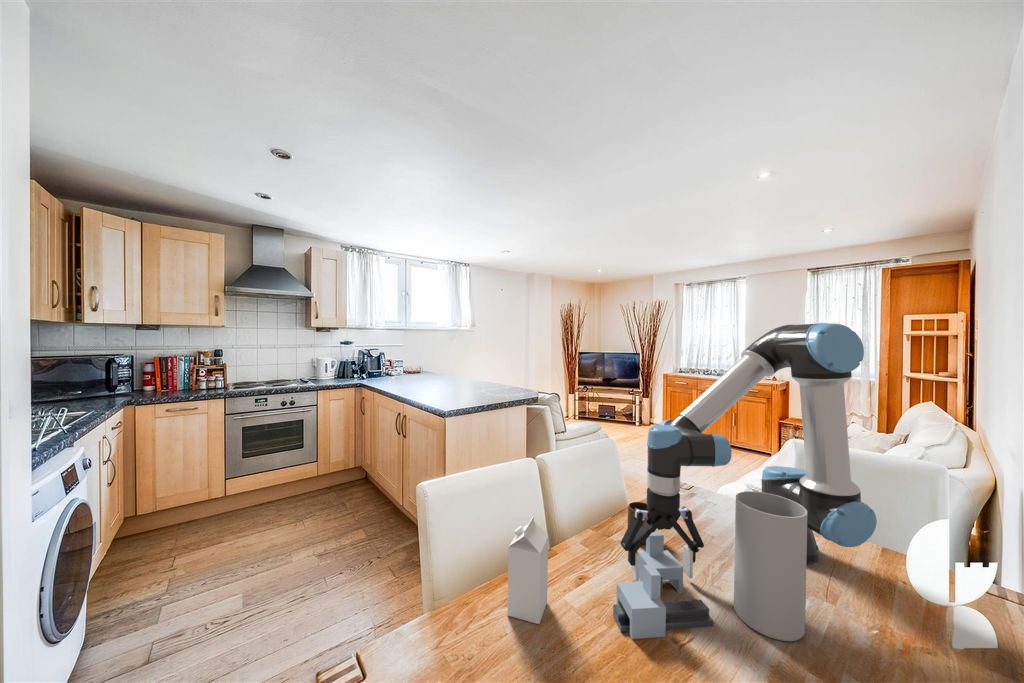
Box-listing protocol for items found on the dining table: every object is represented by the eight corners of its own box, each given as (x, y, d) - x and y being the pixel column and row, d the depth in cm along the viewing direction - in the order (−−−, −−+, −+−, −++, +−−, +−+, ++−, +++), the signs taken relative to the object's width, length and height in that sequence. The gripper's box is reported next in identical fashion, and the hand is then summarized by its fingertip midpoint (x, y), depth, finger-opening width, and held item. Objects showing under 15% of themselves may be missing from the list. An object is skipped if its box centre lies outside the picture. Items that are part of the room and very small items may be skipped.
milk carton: (547, 602, 82) (548, 518, 82) (539, 625, 76) (540, 534, 76) (517, 594, 85) (518, 513, 85) (507, 616, 78) (508, 527, 78)
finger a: (648, 607, 81) (649, 558, 81) (667, 636, 73) (668, 582, 73) (616, 609, 81) (617, 559, 81) (631, 639, 73) (632, 583, 73)
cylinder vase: (811, 653, 70) (813, 523, 70) (734, 627, 76) (737, 507, 76) (798, 611, 81) (800, 499, 81) (732, 592, 87) (734, 487, 87)
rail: (700, 611, 80) (701, 599, 80) (713, 626, 76) (713, 613, 76) (613, 616, 78) (613, 604, 78) (620, 632, 74) (621, 619, 74)
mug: (665, 554, 102) (666, 520, 102) (638, 554, 102) (639, 520, 102) (647, 531, 114) (648, 501, 114) (623, 531, 114) (624, 501, 114)
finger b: (682, 592, 86) (683, 546, 86) (650, 594, 86) (651, 547, 86) (666, 572, 94) (666, 529, 94) (636, 573, 93) (637, 530, 93)
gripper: (701, 482, 95) (700, 564, 95) (608, 484, 92) (606, 568, 92) (721, 494, 87) (719, 583, 87) (620, 497, 85) (618, 589, 85)
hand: (661, 576), depth 90 cm, fingers open, 13 cm apart
